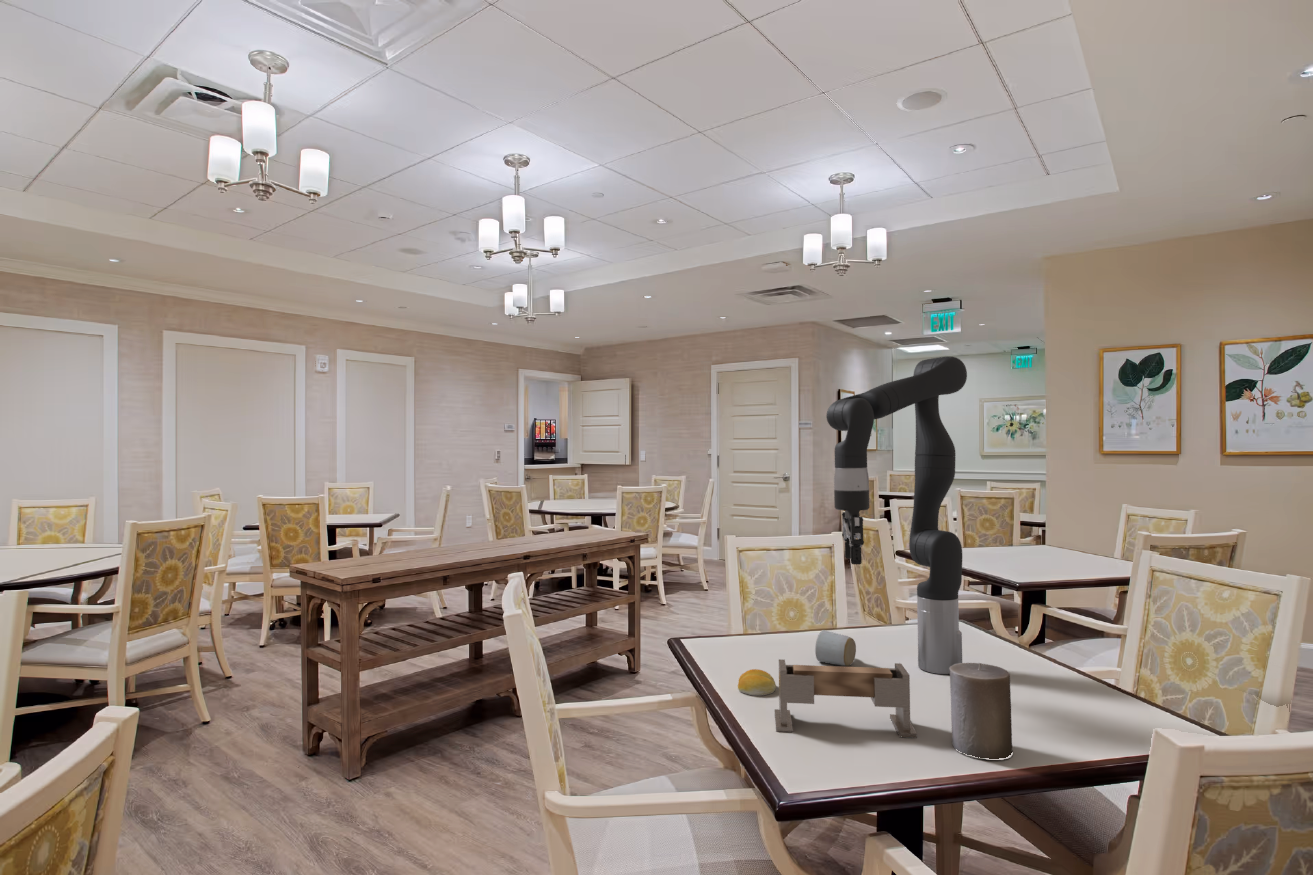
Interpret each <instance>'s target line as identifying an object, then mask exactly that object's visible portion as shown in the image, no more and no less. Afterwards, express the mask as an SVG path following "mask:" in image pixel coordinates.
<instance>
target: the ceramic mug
mask: <svg viewBox="0 0 1313 875" xmlns="http://www.w3.org/2000/svg"><path fill="white" fill-rule="evenodd" d="M814 652H815V658H816V660H817V661H818V662H819V663H824V662H825V663H826V664H829V663H830V664H831V665H835V666H841V667H851V665H852V664H853V663H854V661H855V659H856V654H857V646H856V641H855V639H854V638H852V637H851V636H848V635H845V634H841V633H836V632H834V631H829V630H825V629H822V630H821V631H820V632H819V633H818V634H817V637H816V640H815V649H814Z"/></svg>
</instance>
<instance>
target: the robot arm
mask: <svg viewBox="0 0 1313 875" xmlns="http://www.w3.org/2000/svg"><path fill="white" fill-rule="evenodd" d="M967 371H968V370H967V367H966V364H965V363H964V362H963V361H962V360H961V359H960V358H958V357H955V356H946V355H945V356H939V357H934V358H932V357H931V358H927V359H922V360H920V361H919V362H918V363H917V364H916V365H915V368H914V370H913V375H912V376H911V375H910V376H909V377H904V378H901V379H895V380H893V381H889V382H886V383H882V384H881V385H878V386H875V387H873V388H871V389H869V390H867V391H864V392H862V393H858V394H854V395H851V396H847V397H844V398H840V399H838V400H836V401H834V402H832V403H831V404H830V405H829V407H828V409H827V412H826V415H825V416H826V421H827V424H828V425H829V426H830V427H831V428H832V429H834V430H836V431H841V432H842V431H843V432H844V431H845V432H846V431H847V432H846V435H845V439H844V440H842V441H840V442H837V443H836V444H835V447H834V474H833V475H834V476H833V490H834V491H833V495H834V496H833V498H834V500H833V501H834V509H835V510H838V511H843V512H842V513H841V516H842V517H841V524H842V527H841V530H842V531H841V532H842V540H843V541H844V557H845V558H846V559H847V560H848V559H849V560H850V564H851V565H861V564H862V547H863V546H864V544H865V541H864V523H863V522H864V518H863V516H860V511H868V510H870V479H869V472H868V447H869V443H870V438H871V436H872V435H871V434H872V431H873V428H874V423H875V421H874V420H879V419H882V418H885V417H886V416H890V415H892V414H894V413H897V412H898V411H900V410H902V409H904V408H907V407H909V406H912V405H914V412H915V413H914V414H915V415H914V416H915V446H914V447H915V451H914V489H913V490H914V491H913V509H912V510H913V511H912V516H911V518H912V519H911V524H910V532H909V543H908V544H909V546H908V547H909V548H908V549H909V555H910V557H911V558H912V560H913V562H915V563H916V564H918V565H919V566H922V567H928V568H929V575H928V576H929V577H928V578H927V579H926V580H925V581H921V582H918V584H917V586H916V599H917V600H916V604H917V605H916V607H917V609H916V610H917V616H916V617H917V662H918V663H917V664H918V665H917V666H918V668H919V669H920V670H922V671H924V672H929V673H931V674H939V675H940V674H941V675H950V669H949V668H950V666H953V665H954V664H958V663H963V633H962V631H961V630H960V625H959V624H960V623H959V622H960V621H959V619H960V616H959V614H960V613H959V612H960V611H959V592H960V589H961V586H962V581H963V580H962V579H963V575H962V574H963V548H962V547H963V546H962V543H961V541H960V538H959V536H957V535H956V534H955V533H953V532H952V531H948V530H947V531H946V530H941V529H940V530H939V515H940V509H941V506H942V503H943V501H944V499H945V498H946V495H947V494H948V492H949V490H950V488H951V486H952V485H953V482H954V480H955V475H956V447H955V444H954V442H953V440H952V437H951V436H950V434H949V433H948V431H947V428H946V427H945V425H944V424H943V422H942V419H941V415H940V409H939V408H940V406H939V402H940V401H939V400H940V399H939V398H940V396H944V395H945V396H947V395H952V394H955V393H957V392H959V391H961V390H962V389H963V388H964V387H965V384H966V383H967V379H968V373H967Z"/></svg>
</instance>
